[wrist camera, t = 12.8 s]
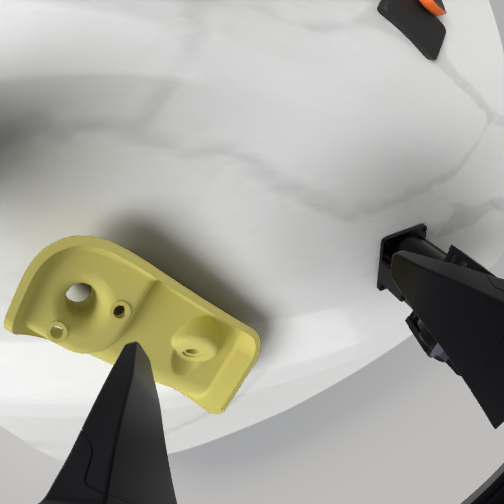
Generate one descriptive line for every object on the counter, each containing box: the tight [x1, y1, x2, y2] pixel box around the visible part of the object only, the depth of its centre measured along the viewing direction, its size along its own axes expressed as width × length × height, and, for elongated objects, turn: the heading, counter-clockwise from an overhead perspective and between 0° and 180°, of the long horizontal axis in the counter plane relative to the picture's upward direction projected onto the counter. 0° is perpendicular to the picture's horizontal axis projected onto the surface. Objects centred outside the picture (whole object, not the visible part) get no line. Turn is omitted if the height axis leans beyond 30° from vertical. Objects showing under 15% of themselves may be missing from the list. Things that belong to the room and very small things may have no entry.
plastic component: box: [4, 236, 261, 414], centre depth 21 cm, size 20×7×10 cm
